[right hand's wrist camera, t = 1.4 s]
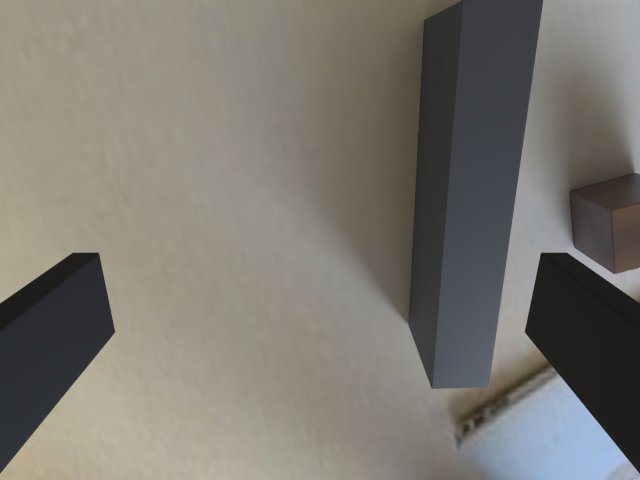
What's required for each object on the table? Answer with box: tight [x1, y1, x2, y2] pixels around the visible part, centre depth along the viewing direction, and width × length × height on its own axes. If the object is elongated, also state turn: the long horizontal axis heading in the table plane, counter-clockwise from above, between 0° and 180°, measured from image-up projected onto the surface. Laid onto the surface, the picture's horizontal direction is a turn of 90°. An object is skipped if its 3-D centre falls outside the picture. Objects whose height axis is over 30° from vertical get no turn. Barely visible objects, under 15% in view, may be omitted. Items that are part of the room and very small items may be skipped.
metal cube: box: [570, 173, 640, 274], centre depth 31 cm, size 5×5×5 cm
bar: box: [409, 0, 543, 389], centre depth 29 cm, size 24×4×8 cm, turn 2°
